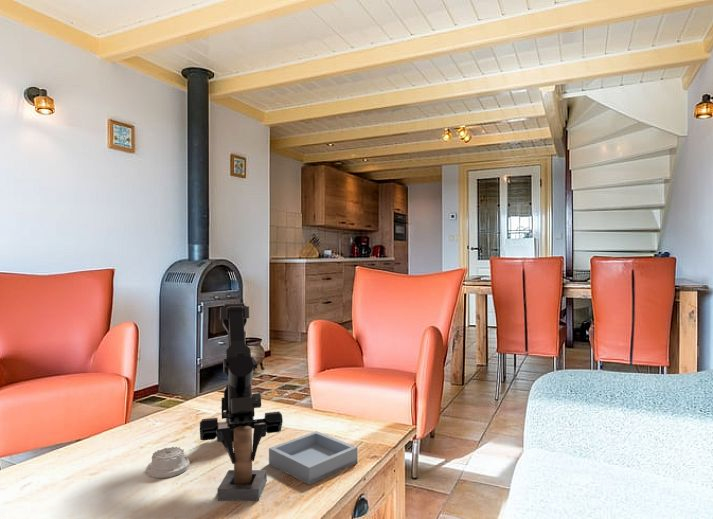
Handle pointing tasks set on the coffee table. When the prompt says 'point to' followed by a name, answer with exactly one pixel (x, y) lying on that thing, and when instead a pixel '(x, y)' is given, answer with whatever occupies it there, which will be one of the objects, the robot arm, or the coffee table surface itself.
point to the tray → (312, 456)
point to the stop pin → (243, 455)
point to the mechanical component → (167, 463)
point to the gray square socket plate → (242, 487)
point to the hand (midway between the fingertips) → (243, 461)
